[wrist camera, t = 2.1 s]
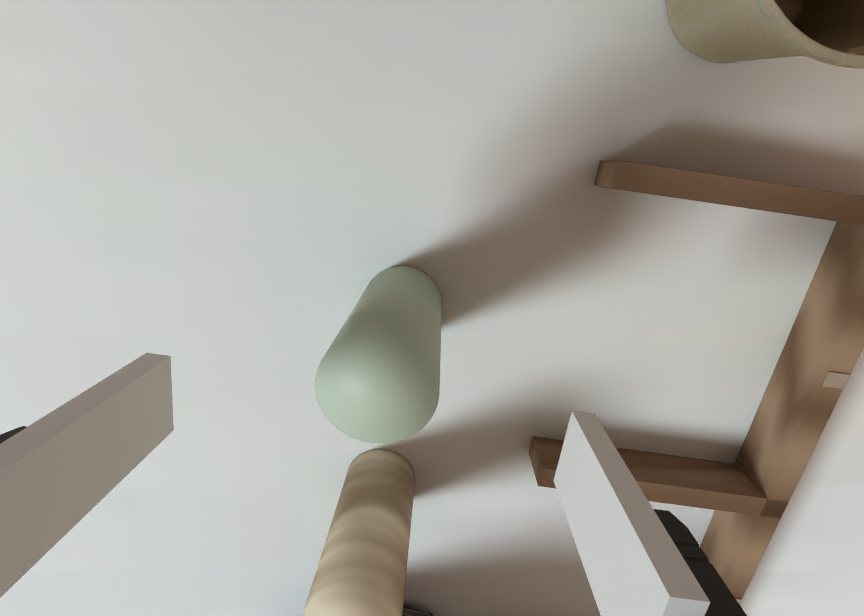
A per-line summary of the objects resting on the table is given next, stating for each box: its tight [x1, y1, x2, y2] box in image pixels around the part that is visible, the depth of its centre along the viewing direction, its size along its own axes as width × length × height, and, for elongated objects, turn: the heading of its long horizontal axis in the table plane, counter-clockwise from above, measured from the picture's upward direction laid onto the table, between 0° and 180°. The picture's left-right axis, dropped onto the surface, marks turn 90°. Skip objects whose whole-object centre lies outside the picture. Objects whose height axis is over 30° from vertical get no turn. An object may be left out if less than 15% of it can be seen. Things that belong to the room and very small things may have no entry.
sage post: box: [315, 266, 442, 443], centre depth 21 cm, size 4×4×10 cm
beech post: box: [302, 449, 415, 616], centre depth 24 cm, size 4×4×10 cm
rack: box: [529, 161, 864, 604], centre depth 27 cm, size 34×14×3 cm, turn 172°
